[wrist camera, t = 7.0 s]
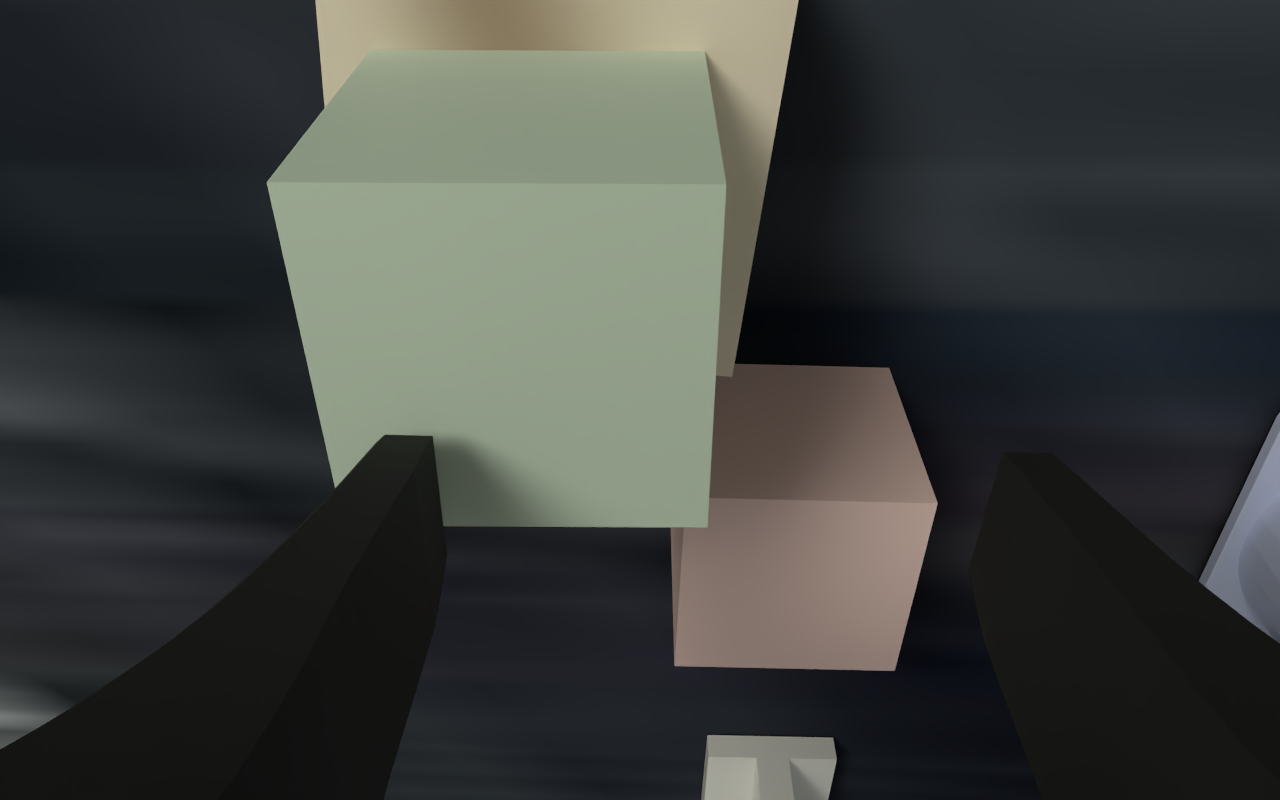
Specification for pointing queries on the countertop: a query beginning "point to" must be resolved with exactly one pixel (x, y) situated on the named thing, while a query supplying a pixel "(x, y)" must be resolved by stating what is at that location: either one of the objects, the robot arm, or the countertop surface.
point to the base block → (613, 21)
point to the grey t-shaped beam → (768, 768)
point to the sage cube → (517, 277)
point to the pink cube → (804, 524)
